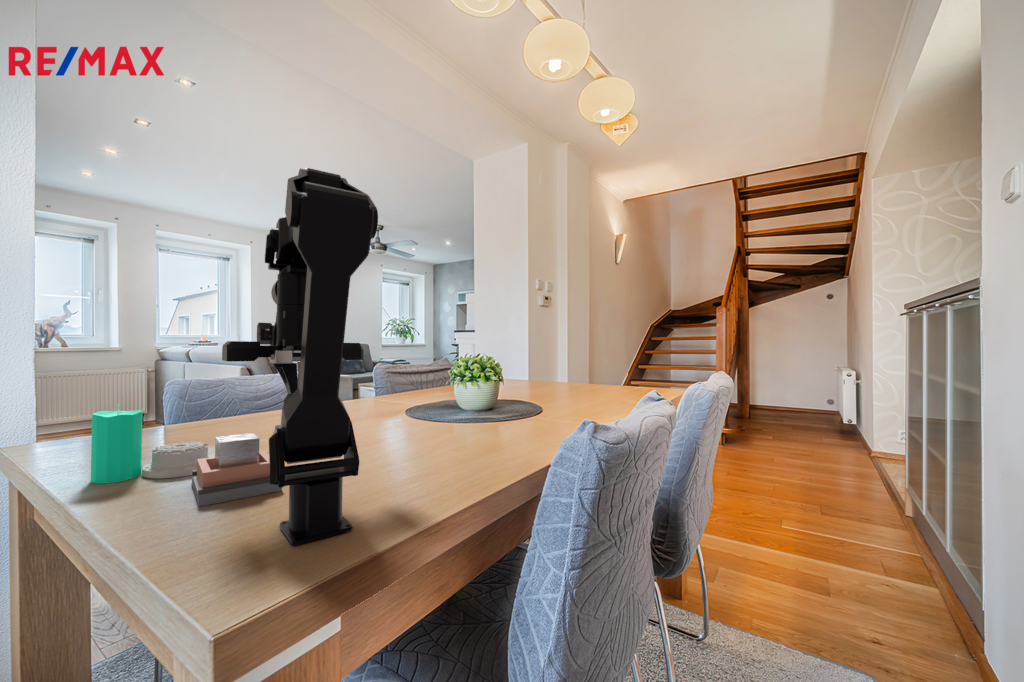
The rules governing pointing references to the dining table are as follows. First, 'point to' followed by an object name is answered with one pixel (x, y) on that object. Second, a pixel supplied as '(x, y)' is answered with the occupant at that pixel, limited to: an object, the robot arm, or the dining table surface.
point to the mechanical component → (175, 460)
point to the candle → (116, 445)
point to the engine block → (236, 450)
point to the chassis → (231, 481)
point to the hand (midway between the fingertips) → (296, 407)
